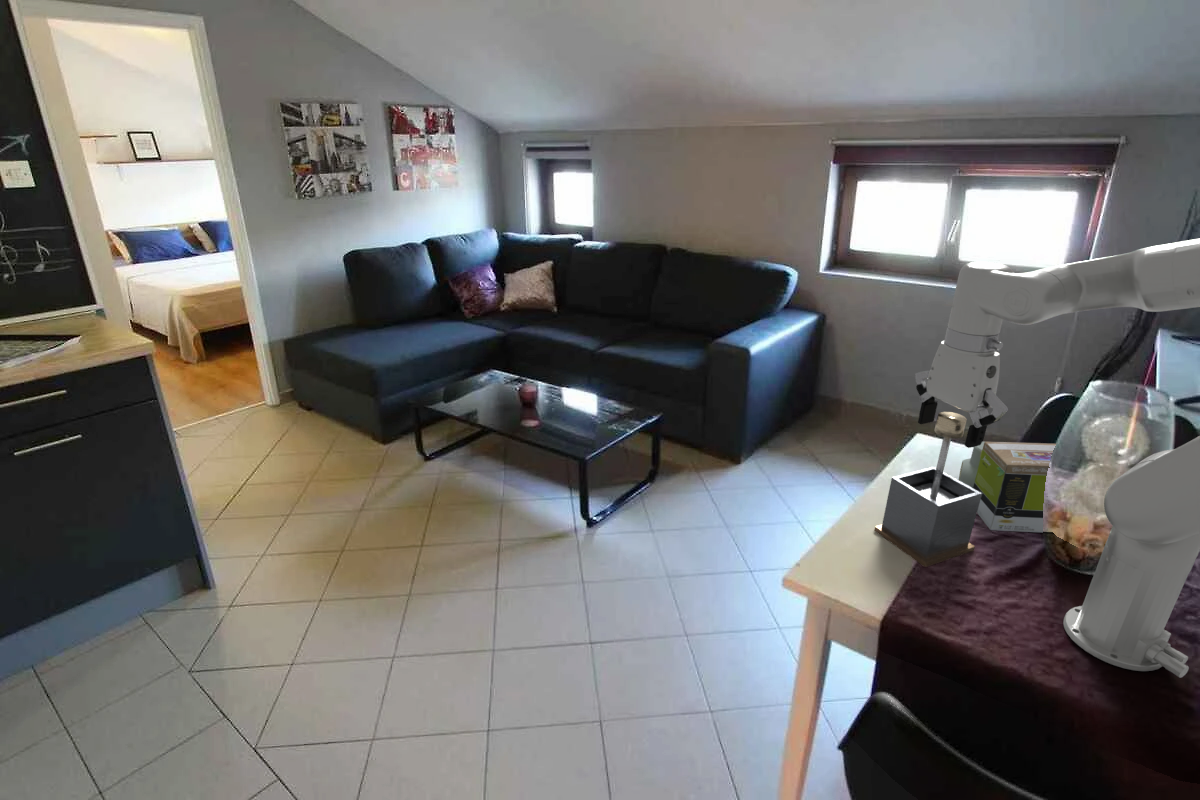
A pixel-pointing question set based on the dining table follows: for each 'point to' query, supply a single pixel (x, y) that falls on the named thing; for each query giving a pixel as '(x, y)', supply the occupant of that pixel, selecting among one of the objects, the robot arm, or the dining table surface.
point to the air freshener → (971, 466)
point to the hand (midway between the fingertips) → (948, 433)
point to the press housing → (929, 518)
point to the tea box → (1013, 485)
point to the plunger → (943, 453)
